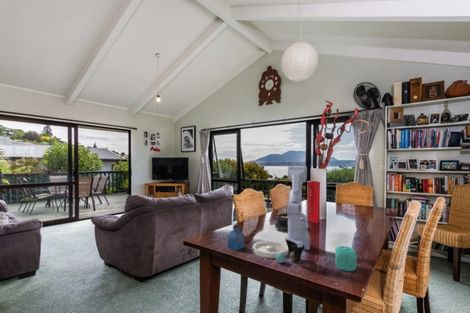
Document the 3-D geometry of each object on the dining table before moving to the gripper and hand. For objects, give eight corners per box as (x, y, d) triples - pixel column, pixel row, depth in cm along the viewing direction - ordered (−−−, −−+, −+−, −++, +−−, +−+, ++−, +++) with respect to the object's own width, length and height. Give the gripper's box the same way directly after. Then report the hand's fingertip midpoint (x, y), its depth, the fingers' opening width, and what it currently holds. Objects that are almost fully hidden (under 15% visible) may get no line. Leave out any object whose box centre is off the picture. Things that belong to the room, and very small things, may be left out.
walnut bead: (297, 258, 118) (297, 249, 118) (300, 262, 113) (300, 253, 113) (288, 259, 117) (288, 250, 117) (291, 263, 113) (291, 253, 113)
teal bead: (283, 260, 116) (283, 251, 116) (286, 264, 111) (286, 254, 112) (274, 260, 115) (274, 251, 115) (277, 264, 111) (277, 255, 111)
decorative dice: (335, 269, 106) (335, 251, 106) (335, 262, 114) (335, 245, 114) (356, 272, 103) (356, 253, 104) (354, 265, 111) (354, 247, 111)
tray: (282, 244, 137) (282, 240, 137) (293, 257, 119) (293, 252, 119) (250, 245, 135) (250, 241, 135) (257, 259, 117) (257, 254, 117)
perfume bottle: (235, 244, 137) (235, 223, 138) (244, 247, 134) (244, 224, 134) (227, 247, 133) (227, 225, 133) (236, 250, 129) (236, 227, 129)
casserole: (295, 234, 156) (295, 221, 156) (268, 230, 166) (268, 217, 166) (306, 225, 177) (306, 213, 177) (282, 222, 187) (282, 211, 187)
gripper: (281, 224, 122) (281, 252, 122) (291, 233, 108) (291, 264, 108) (295, 224, 123) (295, 251, 123) (306, 232, 109) (307, 263, 108)
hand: (294, 257), depth 115 cm, fingers open, 7 cm apart
